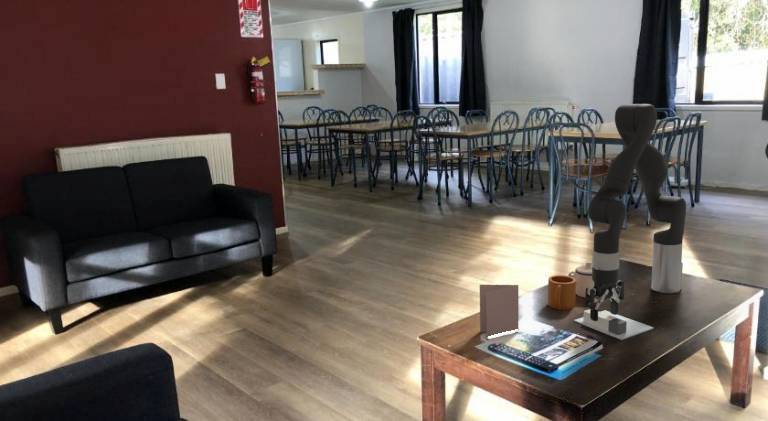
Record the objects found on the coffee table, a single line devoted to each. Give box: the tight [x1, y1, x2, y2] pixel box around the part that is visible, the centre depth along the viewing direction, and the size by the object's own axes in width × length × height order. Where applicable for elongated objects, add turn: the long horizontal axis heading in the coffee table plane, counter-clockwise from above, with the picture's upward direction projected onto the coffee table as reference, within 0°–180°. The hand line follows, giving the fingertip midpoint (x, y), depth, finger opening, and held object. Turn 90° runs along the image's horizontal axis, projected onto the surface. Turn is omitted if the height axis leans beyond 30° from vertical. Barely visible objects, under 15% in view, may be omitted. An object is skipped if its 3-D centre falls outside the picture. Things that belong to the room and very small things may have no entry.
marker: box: [582, 308, 627, 335], centre depth 192 cm, size 14×3×3 cm, turn 30°
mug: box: [547, 274, 577, 310], centre depth 210 cm, size 9×12×9 cm
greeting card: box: [479, 284, 519, 338], centre depth 188 cm, size 11×7×15 cm, turn 80°
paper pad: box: [573, 310, 654, 341], centre depth 194 cm, size 14×18×1 cm
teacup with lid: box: [567, 261, 598, 298], centre depth 221 cm, size 12×9×12 cm
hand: (604, 317), depth 191 cm, fingers open, 8 cm apart
